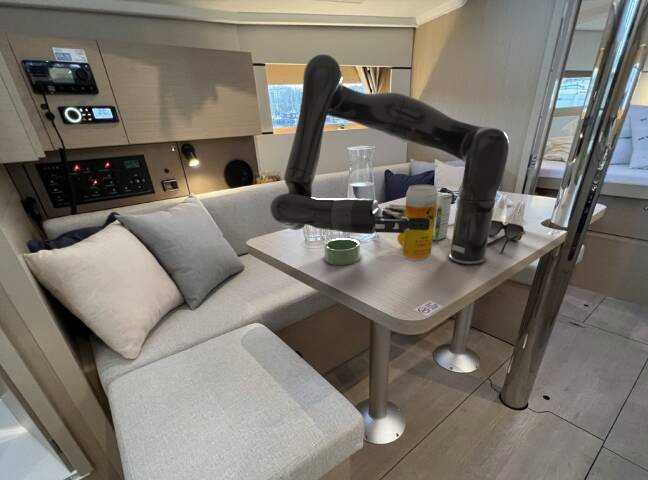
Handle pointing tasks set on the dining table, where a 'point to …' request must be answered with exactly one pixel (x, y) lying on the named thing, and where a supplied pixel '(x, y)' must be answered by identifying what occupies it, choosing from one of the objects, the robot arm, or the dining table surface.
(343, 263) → the green round bowl
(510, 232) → the sunglasses
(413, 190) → the yellow bottle
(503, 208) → the shaker set
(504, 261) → the dining table surface
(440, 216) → the syrup box
